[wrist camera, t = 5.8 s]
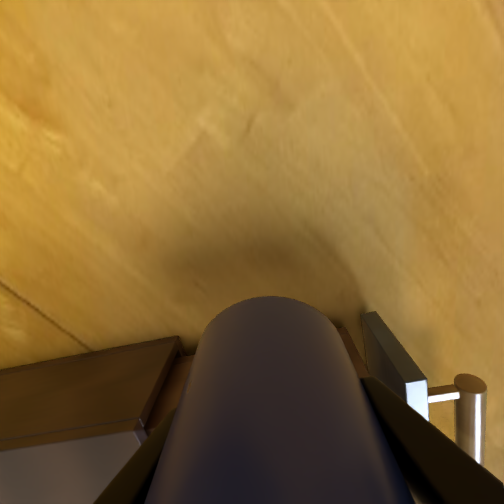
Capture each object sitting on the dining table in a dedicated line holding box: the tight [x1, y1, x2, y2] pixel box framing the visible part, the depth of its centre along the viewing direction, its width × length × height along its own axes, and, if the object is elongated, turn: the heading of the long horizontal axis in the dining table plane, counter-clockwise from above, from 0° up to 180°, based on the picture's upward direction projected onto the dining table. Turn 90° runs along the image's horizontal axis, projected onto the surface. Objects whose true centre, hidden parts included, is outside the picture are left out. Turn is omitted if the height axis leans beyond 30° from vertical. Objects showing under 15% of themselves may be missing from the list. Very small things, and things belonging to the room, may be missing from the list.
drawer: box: [143, 311, 487, 467], centre depth 20 cm, size 23×13×7 cm, turn 104°
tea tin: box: [144, 296, 415, 504], centre depth 6 cm, size 6×6×8 cm
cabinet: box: [0, 336, 186, 504], centre depth 22 cm, size 20×15×9 cm
